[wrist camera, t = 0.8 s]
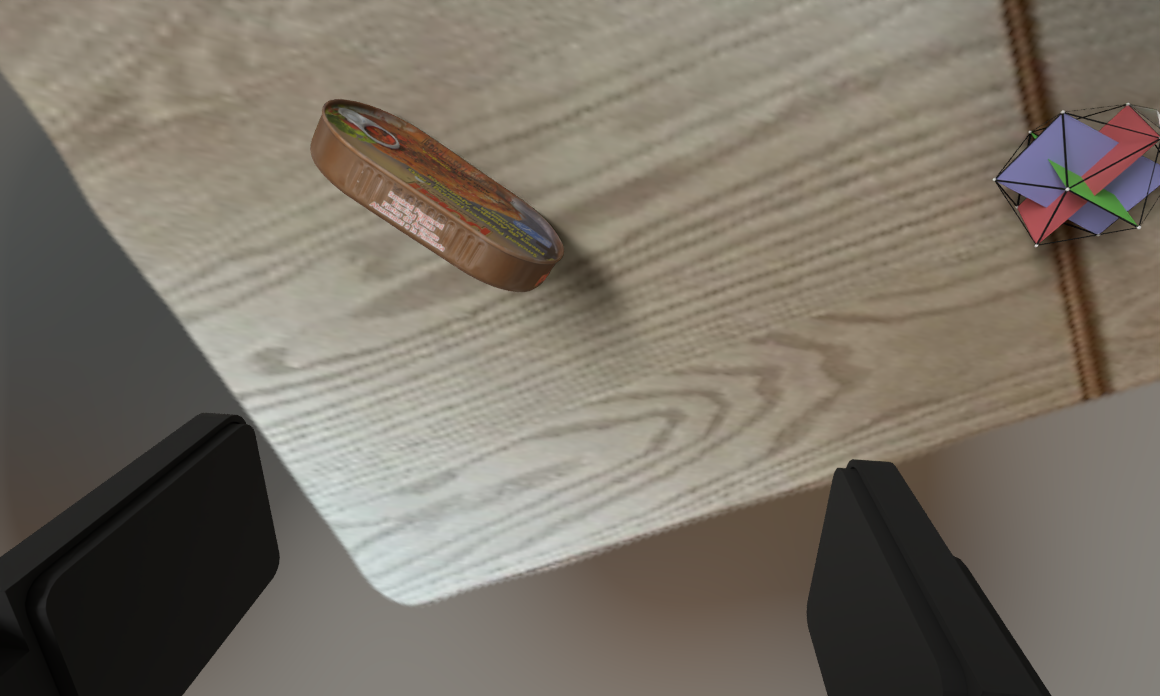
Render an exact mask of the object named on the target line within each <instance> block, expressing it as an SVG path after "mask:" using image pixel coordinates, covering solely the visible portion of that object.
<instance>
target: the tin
mask: <svg viewBox="0 0 1160 696" xmlns="http://www.w3.org/2000/svg"><path fill="white" fill-rule="evenodd" d="M310 150H311V155H312V158H313V160H314V163H315V164H316V166H317V167H318V169H319V170H320V171H321V173H322V174H323V175H324V176H325V177H326V178H327V179H328V180H329V181H330V182H331V183H332V184H333V185H335V186H336V187H337V188H338V189H339V190H340V191H342V192H343V193H344V194H346V195H347V196H349V197H350V198H352V199H353V200H355V201H356V202H358V203H359V204H361V205H362V206H364V207H365V208H367V209H368V210H370V211H371V212H373V213H374V214H376V215H377V216H379V217H380V218H382V219H383V220H385V221H387V222H388V223H390V224H391V225H392V226H394V227H396V228H397V229H399V230H400V231H401V232H403V233H405V234H406V235H408V236H409V237H411V238H412V239H414V240H415V241H417V242H418V243H420V244H422V245H423V246H425V247H426V248H428V249H429V250H431V251H432V252H434V253H436V254H437V255H438V256H440V257H442V258H443V259H445V260H446V261H448V262H449V263H451V264H452V265H454V266H456V267H457V268H459V269H460V270H462V271H463V272H465V273H467V274H468V275H470V276H472V277H474V278H476V279H478V280H480V281H482V282H484V283H486V284H489V285H491V286H494V287H497V288H500V289H504V290H508V291H514V292H527V291H530V290H533V289H535V288H536V287H538V286H539V285H540V284H542V283H543V281H544V280H545V279H546V277H547V276H548V274H549V273H550V271H551V270H552V268H553V267H554V265H555V264H556V262H558V261H559V260H561V259H562V257H563V255H564V247H563V244H562V242H561V240H560V238H559V236H558V235H557V233H556V232H555V230H554V229H553V228H552V226H551V225H550V224H549V223H548V222H547V221H546V220H545V219H544V218H543V217H542V216H541V215H540V214H539V213H538V212H537V211H536V210H534V209H533V208H532V207H531V206H529V205H528V204H527V203H526V202H524V201H523V200H521V199H520V198H518V197H517V196H516V195H514V194H513V193H511V192H510V191H508V190H507V189H506V188H504V187H503V186H501V185H500V184H498V183H497V182H495V181H494V180H492V179H491V178H489V177H488V176H486V175H485V174H483V173H482V172H481V171H479V170H478V169H476V168H475V167H473V166H472V165H470V164H469V163H467V162H466V161H465V160H463V159H462V158H460V157H459V156H457V155H456V154H455V153H453V152H452V151H450V150H449V149H447V148H446V147H444V146H443V145H441V144H440V143H438V142H437V141H436V140H434V139H433V138H431V137H430V136H428V135H427V134H425V133H424V132H422V131H421V130H419V129H418V128H416V127H414V126H413V125H411V124H410V123H407V122H406V121H404V120H402V119H400V118H398V117H396V116H394V115H392V114H390V113H388V112H386V111H383V110H381V109H379V108H375V107H373V106H370V105H367V104H363V103H360V102H356V101H350V100H344V99H335V100H330V101H328V102H326V103H325V104H324V106H323V108H322V116H321V118H320V121H319V123H318V125H317V128H316V130H315V133H314V135H313V138H312V142H311V148H310Z"/></svg>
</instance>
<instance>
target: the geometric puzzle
mask: <svg viewBox="0 0 1160 696" xmlns="http://www.w3.org/2000/svg"><path fill="white" fill-rule="evenodd" d="M1116 106H1119V105H1116ZM1123 106H1125V107H1124V108H1123V109H1122V110H1121V111H1120V112H1119V113H1118V114H1117V115H1116V116H1115V117H1114V118H1113V119H1112V120H1110V121H1109V122H1108V123H1104V122H1100V121H1096V120H1092V119H1088V118H1085V117H1088V116H1091V115H1095V114H1098V113H1101V112H1098V113H1095V114H1091V115H1088V116H1084V117H1081V116H1077V115H1073V114H1069V113H1066V112H1069V111H1066V112H1065V111H1064V110H1063V111H1061V113H1060V115H1059V114H1058V115H1059V116H1058V115H1057V116H1058V117H1057V118H1056V119H1055V120H1054V121H1053V122H1052V123H1051V124H1050V125H1049V126H1048V127H1046V128H1043V129H1045V130H1044V131H1043V132H1042V133H1041V134H1040V135H1039V136H1038V135H1037V134H1035V133H1033V132H1035V131H1034V130H1033V131H1029V135H1028V136H1029V140H1028V146H1027V147H1026V148H1025V149H1024V150H1023V151H1022V152H1021V153H1020V154H1019V155H1018V156H1017V157H1016V158H1015V159H1014V160H1013V161H1012V162H1011V163H1010V164H1009V165H1008V166H1007V167H1006V168H1005V169H1004V168H1003V169H1004V170H1003V169H1002V170H1003V171H1002V170H1001V171H1002V172H1001V171H1000V173H999V174H998V175H997V177H996V178H993V181H995V182H996V184H997V185H998V187H999V189H1000V190H1001V189H1002V190H1003V188H1002V187H1001V186H1000V185H999V184H998V182H999V183H1001V184H1002V185H1004V186H1006V187H1008V188H1010V189H1012V190H1014V191H1016V192H1018V193H1019V196H1018V202H1017V205H1016V204H1015V203H1014V201H1013V200H1012V199H1011V198H1010V197H1009V195H1008V194H1007V193H1006V192H1005V191H1004V190H1003V191H1004V193H1005V194H1006V195H1007V196H1008V197H1009V199H1010V200H1011V201H1012V202H1013V203H1014V204H1015V206H1016V207H1015V208H1016V209H1018V210H1019V212H1020V214H1021V216H1022V218H1023V220H1024V222H1025V224H1026V226H1027V228H1028V230H1029V232H1030V233H1029V232H1028V230H1027V229H1026V227H1025V226H1024V224H1023V222H1022V221H1021V219H1020V218H1019V216H1018V215H1017V213H1016V212H1015V210H1014V209H1013V207H1012V205H1011V204H1010V202H1009V201H1008V199H1007V198H1006V196H1005V195H1004V193H1003V192H1002V190H1001V192H1002V193H1003V195H1004V196H1005V198H1006V199H1007V201H1008V202H1009V204H1010V206H1011V207H1012V209H1013V210H1014V212H1015V213H1016V215H1017V216H1018V218H1019V219H1020V221H1021V223H1022V224H1023V226H1024V227H1025V229H1026V230H1027V232H1028V233H1029V235H1030V234H1031V235H1030V237H1031V238H1032V240H1033V241H1034V243H1035V247H1038V244H1039V243H1040V242H1041V241H1043V240H1044V239H1045V238H1046V237H1047V236H1048V235H1050V234H1051V233H1052V232H1053V231H1054V230H1055V229H1057V228H1058V227H1059V226H1060V225H1061V224H1062V223H1063V224H1065V225H1068V226H1071V227H1074V228H1077V229H1080V230H1083V231H1086V232H1089V233H1092V234H1095V235H1091V236H1096V235H1097V236H1100V235H1102V234H1100V233H1102V232H1103V231H1104V230H1105V229H1107V228H1108V227H1109V226H1110V225H1112V224H1113V223H1114V222H1115V221H1116V220H1118V219H1119V218H1120V219H1122V220H1124V221H1125V222H1127V223H1129V224H1131V225H1133V226H1135V227H1137V229H1141V225H1140V224H1141V220H1142V216H1143V212H1144V208H1145V204H1146V200H1147V196H1148V195H1149V194H1150V193H1151V192H1152V191H1154V190H1155V189H1156V188H1157V187H1159V186H1160V165H1159V164H1157V163H1156V161H1157V157H1158V153H1159V152H1160V150H1159V149H1160V144H1159V148H1158V147H1157V146H1156V143H1157V142H1158V141H1159V140H1160V136H1159V135H1158V134H1157V133H1156V132H1155V131H1154V130H1153V129H1152V128H1151V127H1150V126H1149V125H1148V124H1147V123H1146V122H1145V120H1144V119H1143V118H1142V117H1141V116H1140V115H1139V114H1138V113H1137V112H1136V111H1135V110H1137V111H1138V112H1139V113H1141V114H1142V115H1143V116H1144V117H1146V118H1147V119H1148V120H1150V121H1151V122H1152V123H1154V124H1155V125H1156V126H1158V127H1159V128H1160V114H1159V113H1160V112H1159V113H1158V111H1157V110H1156V109H1151V108H1146V107H1141V106H1136V105H1130V103H1126V104H1124V105H1123ZM1108 107H1110V106H1108ZM1119 107H1122V106H1119ZM1119 107H1116V108H1119ZM1132 107H1133V108H1134V109H1135V110H1134V109H1133V108H1132ZM1099 108H1102V107H1099ZM1091 109H1094V108H1091ZM1112 109H1115V108H1112ZM1112 109H1109V110H1112ZM1083 110H1085V109H1083ZM1074 111H1077V110H1074ZM1105 111H1108V110H1105ZM1105 111H1102V112H1105ZM1067 114H1068V115H1067ZM1069 115H1072V116H1076V117H1079V118H1077V119H1081V118H1083V119H1087V120H1091V121H1095V122H1098V123H1102V124H1106V125H1105V126H1104V127H1103V128H1102V129H1101V130H1100V131H1099V132H1098V131H1096V130H1095V129H1093V128H1091V127H1089V126H1087V125H1085V124H1084V123H1082V122H1080V121H1078V120H1077V119H1074V118H1073V117H1071V116H1069ZM1055 117H1056V116H1055ZM1052 119H1053V118H1052ZM1050 120H1051V119H1050ZM1050 120H1049V121H1050ZM1047 122H1048V121H1047ZM1044 124H1045V123H1044ZM1041 126H1042V125H1041ZM1039 127H1040V126H1039ZM1039 127H1038V128H1039ZM1036 129H1037V128H1036ZM1039 130H1042V129H1039ZM1039 130H1036V131H1039ZM1031 134H1032V135H1033V137H1034V138H1035V140H1034V141H1033V142H1032V143H1031V144H1030V138H1031ZM1028 136H1027V137H1028ZM1027 137H1026V139H1027ZM1026 139H1025V140H1026ZM1025 140H1024V141H1025ZM1024 141H1023V142H1024ZM1022 144H1023V143H1022ZM1022 144H1021V145H1022ZM1021 145H1020V146H1021ZM1153 145H1155V146H1156V148H1157V149H1158V152H1157V156H1156V160H1155V162H1153V161H1151V160H1150V159H1148V158H1146V157H1144V156H1142V155H1143V154H1144V153H1145V152H1146V151H1148V150H1149V149H1150V148H1151V147H1152V146H1153ZM1019 148H1020V147H1019ZM1019 148H1018V149H1019ZM1018 149H1017V150H1018ZM1017 150H1016V152H1017ZM1016 152H1015V153H1016ZM1015 153H1014V154H1015ZM1014 154H1013V156H1014ZM1013 156H1012V157H1013ZM1012 157H1011V158H1012ZM1011 158H1010V160H1011ZM1010 160H1009V161H1010ZM1009 161H1008V162H1009ZM1008 162H1007V163H1008ZM1006 165H1007V164H1006ZM1006 165H1005V166H1006ZM1005 166H1004V167H1005ZM1020 195H1023V196H1025V197H1027V199H1026V200H1024V201H1023V202H1022V203H1021V204H1020V205H1019V200H1020ZM1145 197H1146V200H1145V204H1144V207H1143V211H1142V215H1141V219H1140V223H1139V226H1138V225H1137V224H1136V223H1135V221H1134V220H1133V219H1132V217H1131V216H1130V215H1129V213H1128V211H1129V210H1130V209H1131V208H1133V207H1134V206H1135V205H1136V204H1138V203H1139V202H1140V201H1141V200H1142V199H1144V198H1145ZM1159 197H1160V196H1159ZM1157 200H1158V199H1157ZM1155 203H1156V202H1155ZM1153 206H1154V205H1153ZM1151 209H1152V208H1151ZM1149 212H1150V211H1149ZM1148 214H1149V213H1148ZM1148 214H1147V215H1148ZM1146 217H1147V216H1146ZM1067 219H1068V220H1070V221H1072V222H1074V223H1076V224H1078V225H1080V226H1082V227H1084V228H1085V229H1087V230H1085V229H1082V228H1079V227H1076V226H1073V225H1070V224H1067V223H1064V222H1065V221H1066V220H1067ZM1144 220H1145V219H1144ZM1142 223H1143V222H1142ZM1131 229H1135V228H1131ZM1088 230H1089V231H1088ZM1126 230H1130V229H1126ZM1120 231H1124V230H1120ZM1114 232H1118V231H1114ZM1109 233H1113V232H1109ZM1103 234H1107V233H1103ZM1086 237H1090V236H1086ZM1080 238H1084V237H1080ZM1074 239H1079V238H1074ZM1068 240H1073V239H1068ZM1062 241H1067V240H1062ZM1057 242H1061V241H1057ZM1051 243H1056V242H1051ZM1045 244H1050V243H1045ZM1039 245H1044V244H1039Z"/></svg>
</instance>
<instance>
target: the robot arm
mask: <svg viewBox="0 0 1160 696" xmlns="http://www.w3.org/2000/svg"><path fill="white" fill-rule="evenodd" d="M279 558H280V557H279V550H278V544H277V540H276V535H275V530H274V525H273V520H272V515H271V510H270V505H269V500H268V495H267V491H266V485H265V480H264V475H263V470H262V466H261V461H260V456H259V451H258V446H257V441H256V436H255V432H254V429H253V428H252V427H251V426H250V425H247V424H246V422H245V421H244V419H243V418H242V417H240V416H238V415H230V414H215V413H201V414H199V415H197V416H195V417H194V418H193V419H192V420H190V421H189V422H187V423H186V424H184V425H183V426H182V427H180V428H179V429H177V430H176V431H175V432H173V433H172V434H170V435H169V436H168V437H166V438H165V439H163V440H162V441H161V442H159V443H158V444H157V445H155V446H154V447H153V448H151V449H150V450H148V451H147V452H145V453H144V454H143V455H141V456H140V457H139V458H137V459H136V460H134V461H133V462H132V463H130V464H129V465H127V466H126V467H125V468H123V469H122V470H121V471H119V472H118V473H116V474H115V475H114V476H112V477H111V478H110V479H108V480H107V481H105V482H104V483H102V484H101V485H100V486H98V487H97V488H96V489H94V490H93V491H91V492H90V493H89V494H87V495H86V496H85V497H83V498H82V499H80V500H79V501H78V502H77V503H75V504H73V505H72V506H71V507H69V508H68V509H67V510H65V511H64V512H62V513H61V514H59V515H58V516H57V517H55V518H54V519H53V520H51V521H50V522H48V523H47V524H46V525H44V526H43V527H41V528H40V529H39V530H37V531H36V532H34V533H33V534H32V535H30V536H29V537H28V538H26V539H25V540H23V541H22V542H21V543H19V544H18V545H17V546H15V547H14V548H12V549H11V550H10V551H8V552H7V553H5V554H4V555H3V556H1V557H0V696H182V695H183V694H184V693H185V691H186V690H187V689H188V687H189V686H190V685H191V684H192V682H193V681H194V680H195V678H196V677H197V676H198V674H199V673H200V672H201V670H202V669H203V668H204V667H205V665H206V664H207V663H208V662H209V660H210V659H211V658H212V656H213V655H214V654H215V652H216V651H217V650H218V649H219V647H220V646H221V645H222V643H223V642H224V641H225V639H226V638H227V637H228V636H229V634H230V633H231V632H232V630H233V629H234V628H235V627H236V625H237V624H238V623H239V621H240V620H241V618H243V616H244V615H245V614H246V612H247V611H248V610H249V608H250V607H251V606H252V605H253V603H254V602H255V601H256V599H257V598H258V597H259V595H260V594H261V593H262V592H263V590H264V589H265V588H266V586H267V585H268V584H269V582H270V581H271V580H272V579H273V577H274V575H275V574H276V571H277V569H278V565H279ZM807 623H808V628H809V632H810V635H811V639H812V643H813V646H814V649H815V653H816V656H817V660H818V663H819V667H820V670H821V674H822V677H823V681H824V684H825V687H826V691H827V695H828V696H1051V694H1050V693H1049V691H1048V690H1047V688H1046V687H1045V685H1044V684H1043V682H1042V681H1041V679H1040V677H1039V676H1038V674H1037V673H1036V672H1035V670H1034V668H1033V667H1032V665H1031V664H1030V662H1029V661H1028V659H1027V658H1026V656H1025V655H1024V653H1023V652H1022V650H1021V649H1020V647H1019V646H1018V644H1017V643H1016V641H1015V639H1014V638H1013V636H1012V635H1011V633H1010V632H1009V630H1008V629H1007V627H1006V626H1005V624H1004V623H1003V621H1002V620H1001V618H1000V616H999V615H998V614H997V612H996V610H995V609H994V607H993V606H992V604H991V603H990V601H989V600H988V598H987V597H986V595H985V594H984V592H983V591H982V589H981V588H980V586H979V584H978V583H977V581H976V580H975V578H974V577H973V576H972V574H971V572H970V571H969V569H968V568H967V567H966V565H965V564H964V563H963V562H962V561H961V560H960V559H959V558H957V557H955V556H953V555H952V553H951V552H950V550H949V549H948V547H947V546H946V544H945V543H944V541H943V540H942V538H941V536H940V535H939V533H938V532H937V530H936V529H935V527H934V525H933V524H932V523H931V521H930V519H929V518H928V516H927V514H926V513H925V511H924V510H923V508H922V507H921V505H920V504H919V502H918V500H917V499H916V497H915V496H914V494H913V493H912V491H911V490H910V488H909V487H908V485H907V483H906V482H905V480H904V479H903V477H902V476H901V474H900V473H899V471H898V469H897V468H896V466H895V465H894V464H893V463H891V462H882V461H868V460H854V459H852V460H851V461H849V463H848V465H847V467H846V468H837V469H836V471H835V472H834V476H833V480H832V485H831V490H830V495H829V500H828V505H827V510H826V515H825V519H824V524H823V529H822V534H821V539H820V544H819V548H818V553H817V558H816V563H815V568H814V573H813V578H812V583H811V587H810V592H809V597H808V603H807Z"/></svg>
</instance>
